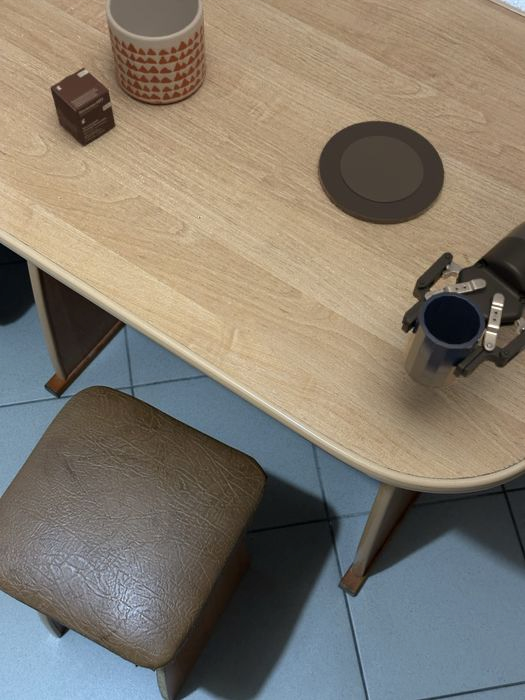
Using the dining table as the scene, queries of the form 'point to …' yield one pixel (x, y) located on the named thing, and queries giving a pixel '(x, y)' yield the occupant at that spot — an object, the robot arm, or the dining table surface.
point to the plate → (381, 172)
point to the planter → (157, 47)
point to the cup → (442, 339)
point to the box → (83, 106)
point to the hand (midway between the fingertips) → (430, 350)
